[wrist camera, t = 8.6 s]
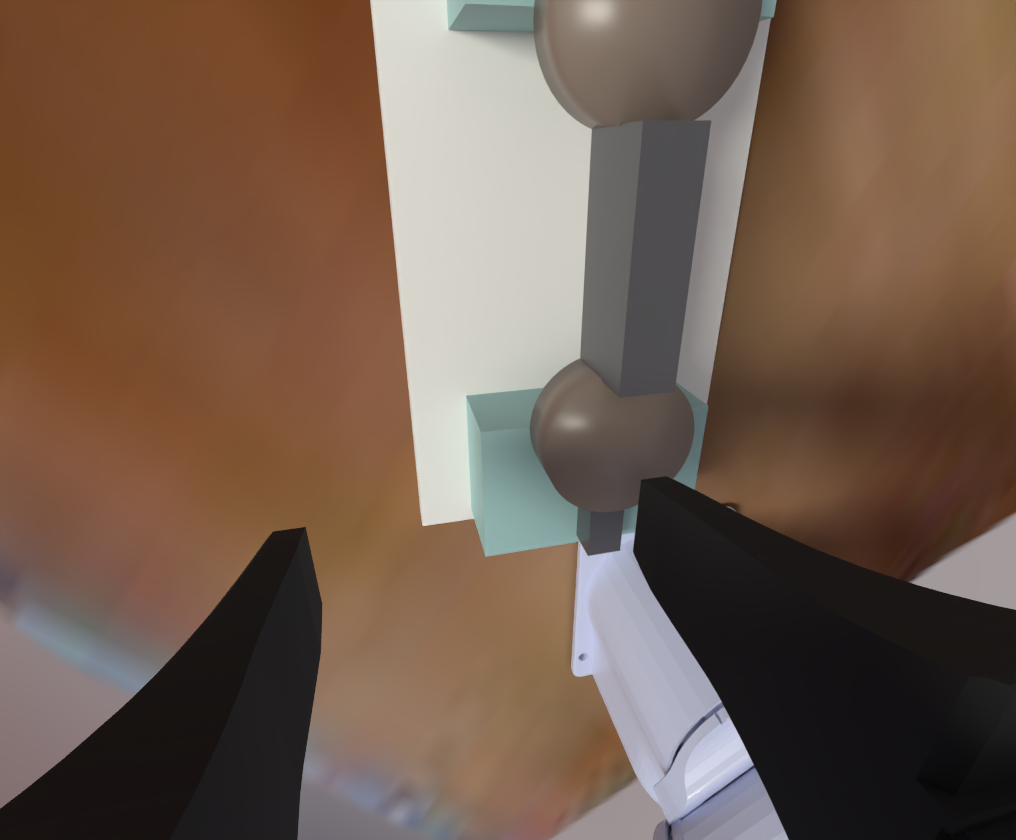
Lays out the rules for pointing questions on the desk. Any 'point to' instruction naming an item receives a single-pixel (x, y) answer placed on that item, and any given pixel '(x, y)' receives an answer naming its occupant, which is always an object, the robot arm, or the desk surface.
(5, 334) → the desk surface
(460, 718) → the desk surface
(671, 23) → the rod with two spheres
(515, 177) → the stand
